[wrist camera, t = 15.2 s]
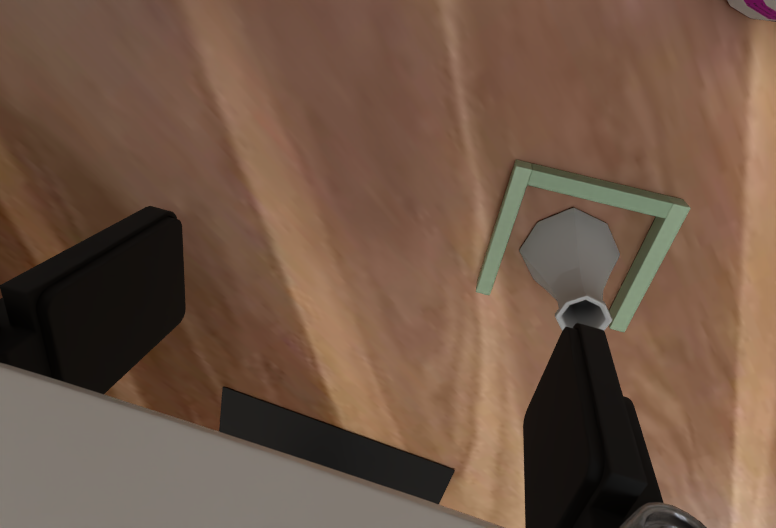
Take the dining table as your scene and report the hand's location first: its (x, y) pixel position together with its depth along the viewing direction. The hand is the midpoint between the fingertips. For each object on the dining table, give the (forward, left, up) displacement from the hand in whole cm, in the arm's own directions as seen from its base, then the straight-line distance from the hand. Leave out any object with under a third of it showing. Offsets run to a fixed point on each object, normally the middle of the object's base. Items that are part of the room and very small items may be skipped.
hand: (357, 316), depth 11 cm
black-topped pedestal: (-6, -50, -28) cm, 58 cm away
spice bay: (+11, -9, -28) cm, 32 cm away
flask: (+11, -9, -28) cm, 32 cm away
